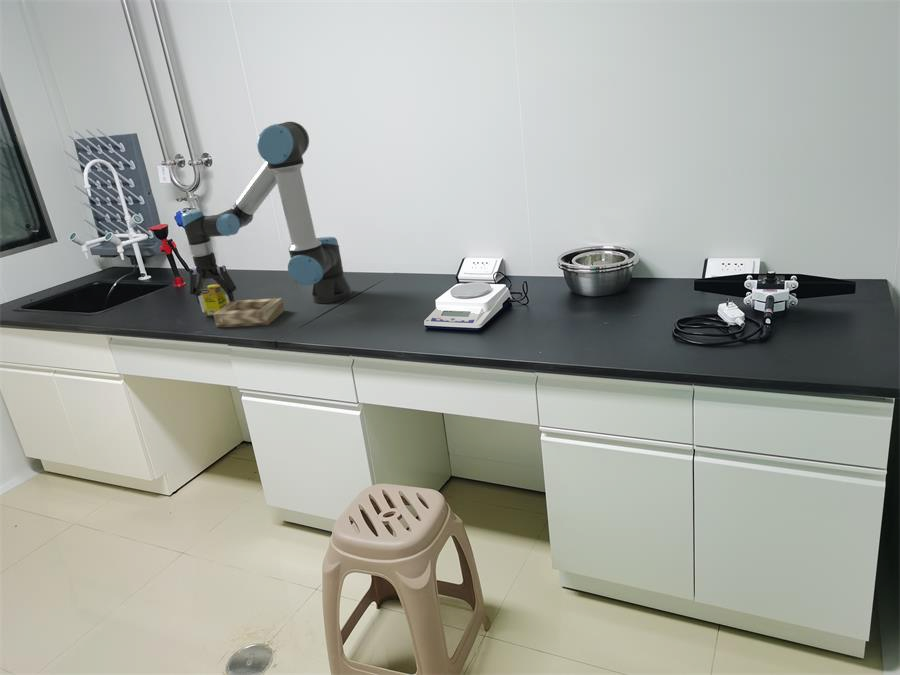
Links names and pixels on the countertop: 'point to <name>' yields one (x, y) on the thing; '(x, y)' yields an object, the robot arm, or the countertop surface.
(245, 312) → the wooden tray
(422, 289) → the countertop surface
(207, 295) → the supplement box
